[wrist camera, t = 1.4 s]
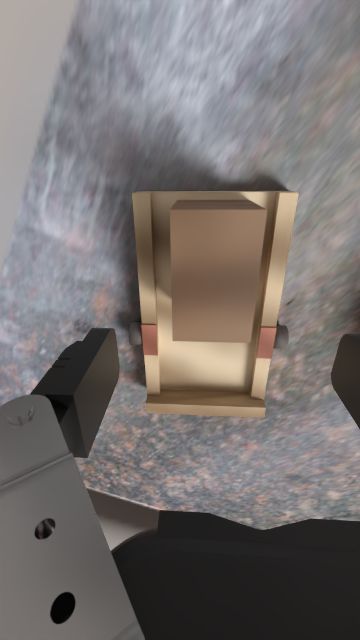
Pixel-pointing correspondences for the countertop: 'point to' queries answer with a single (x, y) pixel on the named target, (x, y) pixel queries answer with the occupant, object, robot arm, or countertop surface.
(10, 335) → the countertop surface
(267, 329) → the wooden tray
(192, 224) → the block
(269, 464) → the countertop surface
